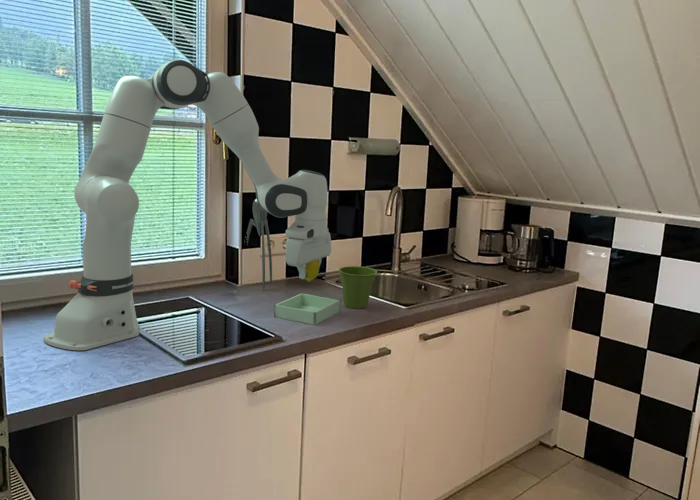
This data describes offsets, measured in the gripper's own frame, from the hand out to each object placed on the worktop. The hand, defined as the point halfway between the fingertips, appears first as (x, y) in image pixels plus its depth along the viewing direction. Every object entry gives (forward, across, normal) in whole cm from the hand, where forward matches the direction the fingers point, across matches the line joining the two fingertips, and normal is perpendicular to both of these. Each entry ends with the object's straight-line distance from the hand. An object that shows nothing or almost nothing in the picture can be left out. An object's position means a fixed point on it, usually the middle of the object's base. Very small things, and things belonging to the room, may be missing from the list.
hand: (309, 276), depth 169 cm
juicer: (+12, -18, -31) cm, 38 cm away
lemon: (+2, 0, 0) cm, 2 cm away
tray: (+11, 0, 0) cm, 11 cm away
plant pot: (+12, -16, +8) cm, 21 cm away
